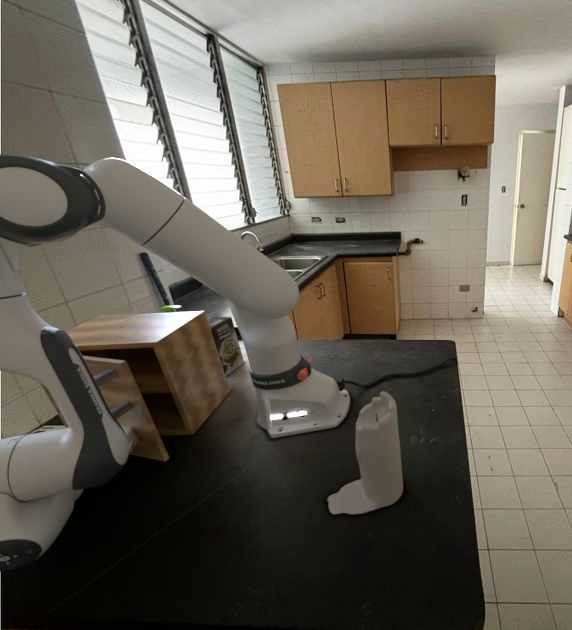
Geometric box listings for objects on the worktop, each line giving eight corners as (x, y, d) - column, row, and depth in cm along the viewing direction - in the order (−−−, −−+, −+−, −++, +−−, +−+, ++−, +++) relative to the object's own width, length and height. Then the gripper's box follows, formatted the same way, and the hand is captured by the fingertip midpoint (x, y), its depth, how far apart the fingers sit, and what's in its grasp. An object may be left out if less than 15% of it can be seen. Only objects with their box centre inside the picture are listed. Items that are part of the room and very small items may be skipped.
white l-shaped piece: (326, 489, 63) (307, 402, 55) (397, 469, 66) (390, 384, 58) (328, 525, 56) (308, 432, 48) (407, 499, 60) (400, 409, 52)
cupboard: (193, 434, 78) (156, 342, 68) (80, 439, 78) (28, 348, 68) (230, 391, 94) (204, 310, 84) (136, 395, 94) (100, 315, 84)
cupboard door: (138, 484, 65) (84, 381, 56) (43, 463, 72) (-19, 366, 62) (169, 458, 71) (126, 360, 62) (80, 440, 78) (27, 349, 68)
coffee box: (225, 378, 100) (209, 329, 94) (206, 376, 101) (190, 328, 95) (245, 362, 108) (232, 316, 102) (228, 360, 109) (214, 315, 103)
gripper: (123, 441, 62) (141, 402, 74) (-34, 487, 54) (14, 435, 66) (135, 467, 65) (151, 425, 76) (-13, 514, 57) (30, 459, 68)
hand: (87, 429), depth 71 cm, fingers closed
